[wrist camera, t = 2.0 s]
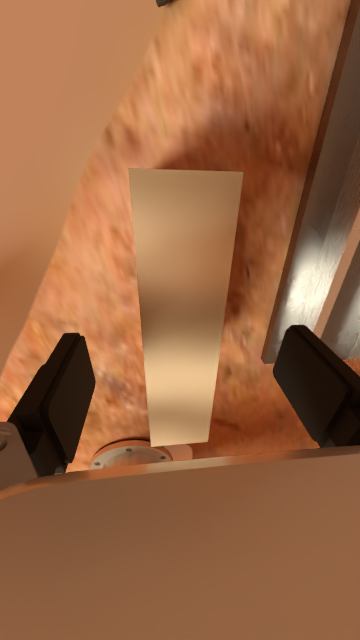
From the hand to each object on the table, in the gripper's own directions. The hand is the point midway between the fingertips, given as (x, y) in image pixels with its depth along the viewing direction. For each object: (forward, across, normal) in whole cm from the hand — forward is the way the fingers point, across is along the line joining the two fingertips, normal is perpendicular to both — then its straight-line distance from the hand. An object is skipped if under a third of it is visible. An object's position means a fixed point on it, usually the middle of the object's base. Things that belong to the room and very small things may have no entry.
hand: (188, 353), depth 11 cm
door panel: (+12, 0, +1) cm, 12 cm away
